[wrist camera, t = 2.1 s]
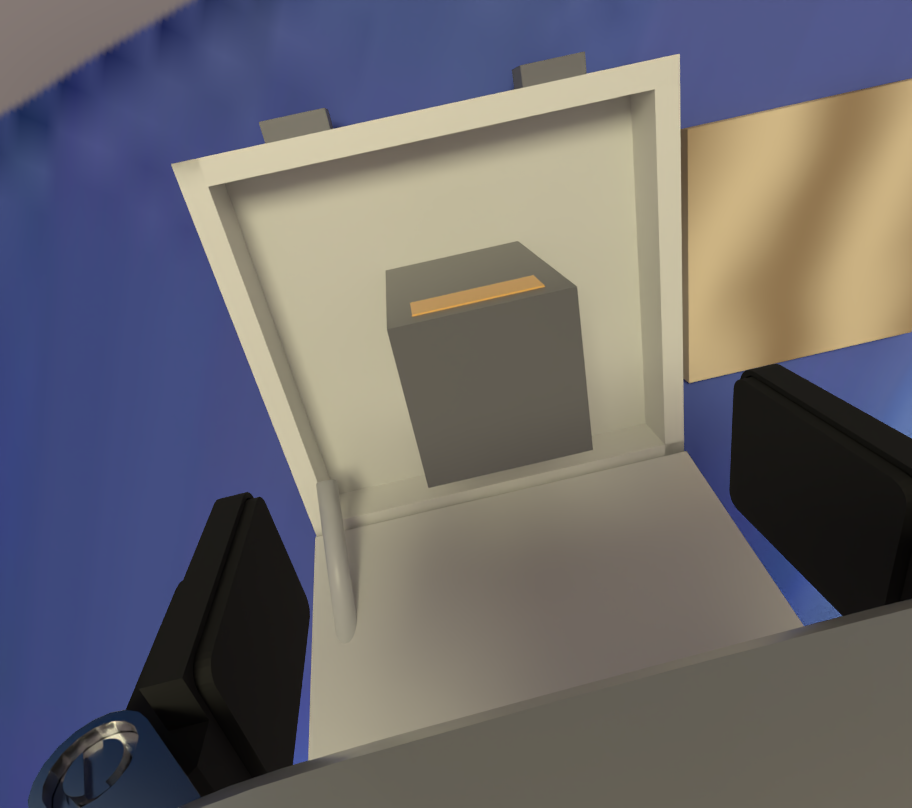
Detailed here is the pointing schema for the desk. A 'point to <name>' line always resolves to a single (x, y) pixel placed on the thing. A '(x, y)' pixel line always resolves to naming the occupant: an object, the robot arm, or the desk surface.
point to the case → (388, 422)
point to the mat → (796, 230)
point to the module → (489, 361)
